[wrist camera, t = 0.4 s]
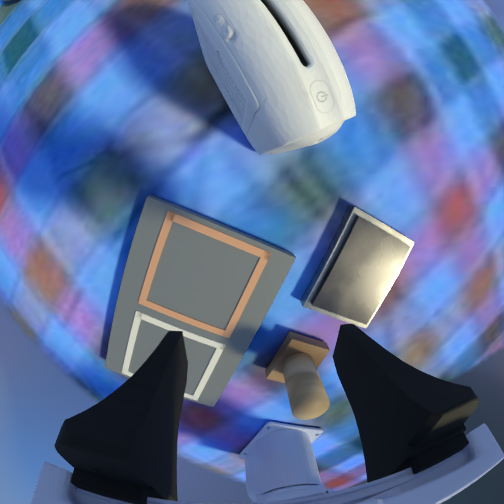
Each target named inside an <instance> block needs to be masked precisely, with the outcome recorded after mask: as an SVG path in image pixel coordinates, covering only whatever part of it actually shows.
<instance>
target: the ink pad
mask: <svg viewBox="0 0 504 504" xmlns="http://www.w3.org/2000/svg"><path fill="white" fill-rule="evenodd" d="M413 244H414V242H413V241H411V240H410V239H408V238H406V237H405V236H403V235H402V234H400V233H398V232H397V231H395V230H394V229H392V228H390V227H389V226H387V225H385V224H384V223H382V222H380V221H379V220H377V219H375V218H374V217H372V216H370V215H368V214H367V213H365V212H363V211H361V210H360V209H358V208H356V207H354V206H351V205H349V207H348V210H347V212H346V214H345V216H344V218H343V220H342V222H341V224H340V226H339V228H338V230H337V232H336V234H335V236H334V238H333V240H332V242H331V244H330V246H329V248H328V250H327V252H326V254H325V256H324V258H323V260H322V262H321V264H320V265H319V267H318V269H317V271H316V273H315V275H314V277H313V279H312V280H311V282H310V284H309V286H308V288H307V290H306V291H305V293H304V295H303V297H302V299H301V300H300V301H301V303H302V306H303V307H306V308H309V309H312V310H314V311H317V312H320V313H323V314H326V315H328V316H331V317H334V318H337V319H340V320H343V321H345V322H348V323H351V324H354V325H357V326H360V327H363V328H366V327H367V326H368V324H369V323H370V321H371V320H372V318H373V316H374V315H375V313H376V312H377V310H378V308H379V307H380V305H381V303H382V302H383V300H384V298H385V297H386V295H387V293H388V292H389V290H390V288H391V286H392V285H393V283H394V281H395V279H396V277H397V276H398V274H399V272H400V270H401V268H402V266H403V264H404V262H405V260H406V258H407V257H408V255H409V253H410V251H411V249H412V247H413Z"/></svg>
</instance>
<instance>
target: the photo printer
mask: <svg viewBox="0 0 504 504" xmlns="http://www.w3.org/2000/svg"><path fill="white" fill-rule="evenodd" d="M187 1H188V5H189V8H190V11H191V14H192V18H193V21H194V25H195V28H196V31H197V35H198V38H199V42H200V45H201V49H202V53H203V56H204V59H205V62H206V65H207V67H208V69H209V71H210V73H211V75H212V76H213V78H214V80H215V82H216V84H217V86H218V88H219V89H220V91H221V93H222V95H223V97H224V99H225V100H226V102H227V104H228V106H229V108H230V109H231V111H232V113H233V115H234V117H235V118H236V120H237V122H238V124H239V125H240V127H241V129H242V131H243V132H244V134H245V136H246V138H247V139H248V141H249V142H250V144H251V145H252V147H253V148H254V149H255V150H256V152H257V153H258V154H259V155H262V154H264V153H267V154H277V153H282V152H286V151H290V150H294V149H298V148H302V147H306V146H310V145H314V144H317V143H319V142H321V141H323V140H325V139H327V138H329V137H330V136H332V135H333V134H334V133H336V131H337V130H338V129H339V128H340V127H341V125H342V123H343V122H344V120H347V119H349V118H351V117H354V116H355V115H356V110H355V103H354V98H353V94H352V90H351V86H350V83H349V81H348V78H347V75H346V73H345V70H344V67H343V65H342V63H341V61H340V58H339V56H338V54H337V52H336V50H335V48H334V46H333V44H332V43H331V41H330V39H329V37H328V36H327V34H326V32H325V31H324V29H323V27H322V26H321V24H320V23H319V21H318V20H317V18H316V17H315V15H314V14H313V13H312V11H311V10H310V9H309V7H308V6H307V5H306V3H305V2H304V1H303V0H187Z"/></svg>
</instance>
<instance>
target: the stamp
mask: <svg viewBox="0 0 504 504" xmlns="http://www.w3.org/2000/svg"><path fill="white" fill-rule="evenodd" d="M329 351H330V349H329V347H328V345H327V343H325V342H323V341H320V340H317V339H314V338H310V337H307V336H304V335H301V334H298V333H295V332H291V331H289V333H288V335H287V336H286V338H285V340H284V341H283V343H282V344H281V346H280V348H279V349H278V351H277V353H276V354H275V356H274V357H273V359H272V360H271V362H270V364H269V365H268V367H267V369H266V377H267V379H271V380H275V381H279V382H283V383H285V384H286V388H287V393H288V397H289V402H290V406H291V411H292V414H293V416H294V417H296V418H298V419H302V420H308V419H313V418H316V417H318V416H320V415H322V414H323V413H325V412H326V411H327V409H328V408H329V405H330V402H329V399H328V397H327V394H326V391H325V389H324V386H323V383H322V381H321V378H320V375H319V373H318V370H317V368H318V366H319V365H320V363H321V362H322V361H323V359H324V358H325V356H326V355H327V354H328V352H329Z"/></svg>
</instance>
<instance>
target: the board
mask: <svg viewBox="0 0 504 504" xmlns="http://www.w3.org/2000/svg"><path fill="white" fill-rule="evenodd" d="M295 258H296V257H295V256H294V254H293V253H290V252H288V251H286V250H283V249H281V248H279V247H276V246H274V245H272V244H269V243H267V242H264V241H262V240H260V239H257V238H255V237H253V236H250V235H248V234H246V233H243V232H241V231H238V230H236V229H234V228H231V227H229V226H226V225H224V224H222V223H219V222H217V221H214V220H212V219H210V218H207V217H205V216H202V215H200V214H198V213H195V212H193V211H190V210H188V209H185V208H183V207H180V206H178V205H176V204H173V203H171V202H168V201H166V200H163V199H161V198H158V197H156V196H153V195H149V196H147V198H146V201H145V204H144V207H143V210H142V213H141V216H140V219H139V222H138V225H137V228H136V231H135V235H134V238H133V241H132V245H131V248H130V252H129V255H128V259H127V262H126V266H125V270H124V274H123V278H122V282H121V286H120V290H119V294H118V299H117V303H116V308H115V312H114V317H113V322H112V328H111V333H110V339H109V344H108V351H107V357H106V364H105V367H106V368H108V369H110V370H112V371H114V372H117V373H119V374H121V375H123V376H126V377H128V378H130V377H131V376H132V375H133V374H134V373H135V372H136V371H137V370H138V369H139V368H140V367H141V365H142V364H143V363H144V362H145V361H146V360H147V358H148V357H149V356H150V355H151V354H152V352H153V351H154V350H155V348H156V347H157V346H158V345H159V343H160V342H161V340H162V339H163V338H164V336H165V335H166V334H167V332H168V331H183V337H184V343H185V349H186V355H187V360H188V372H187V383H186V388H185V393H184V399H187V400H190V401H194V402H197V403H200V404H203V405H207V406H210V407H214V405H215V404H216V402H217V400H218V399H219V397H220V395H221V394H222V392H223V390H224V389H225V387H226V385H227V383H228V382H229V380H230V378H231V377H232V375H233V373H234V371H235V370H236V368H237V366H238V364H239V363H240V361H241V359H242V357H243V356H244V354H245V352H246V350H247V348H248V347H249V345H250V343H251V341H252V339H253V338H254V336H255V334H256V332H257V330H258V329H259V327H260V325H261V323H262V321H263V319H264V318H265V316H266V314H267V312H268V310H269V308H270V306H271V304H272V303H273V301H274V299H275V297H276V295H277V293H278V291H279V289H280V287H281V285H282V284H283V282H284V280H285V278H286V276H287V274H288V272H289V270H290V268H291V266H292V264H293V262H294V260H295Z"/></svg>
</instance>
